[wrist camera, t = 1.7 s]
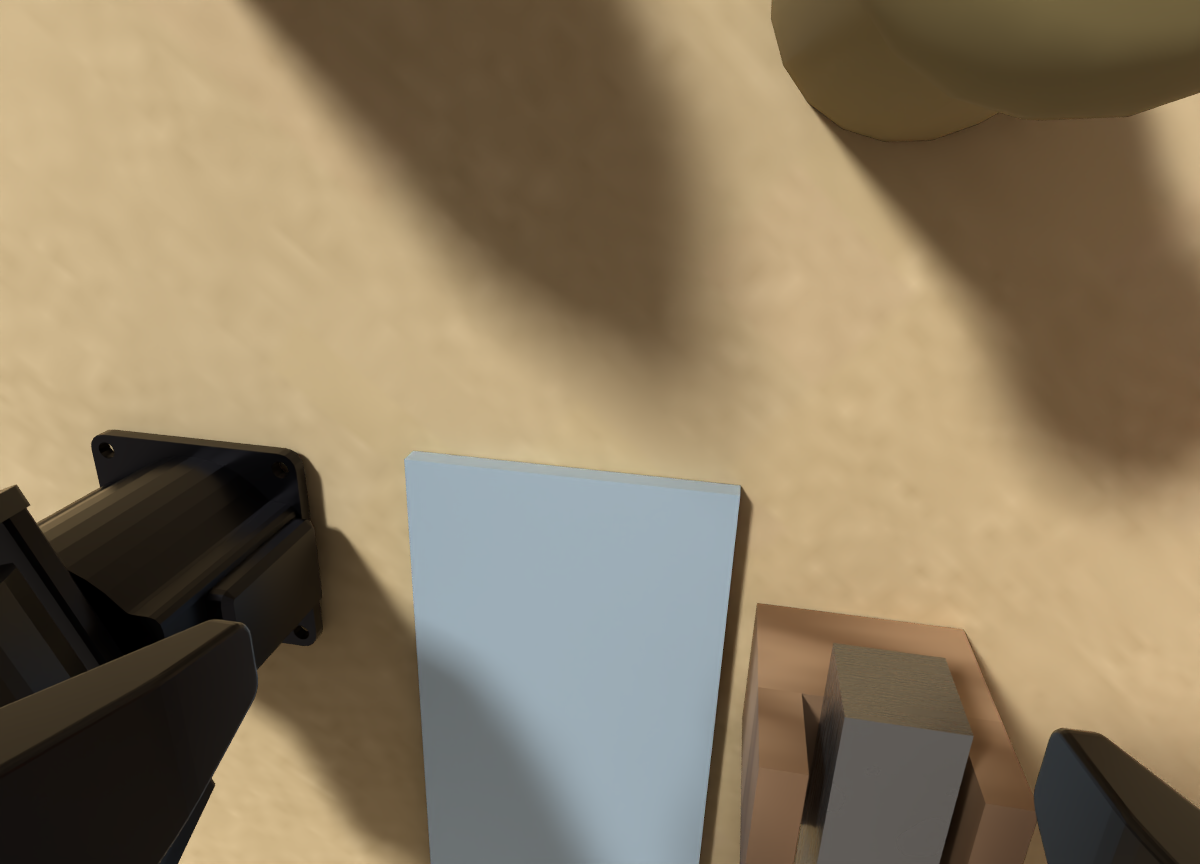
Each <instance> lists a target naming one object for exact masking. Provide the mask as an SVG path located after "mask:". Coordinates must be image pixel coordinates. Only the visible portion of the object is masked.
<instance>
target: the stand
mask: <svg viewBox="0 0 1200 864" xmlns="http://www.w3.org/2000/svg"><path fill="white" fill-rule="evenodd" d="M833 643H837V644H844V645H852V646H859V647H867V648H874V649H882V650H889V651H897V652H904V653H912V654H919V655H927V656H934V657H941V658H946V661H947V664H948V667H949V670H950V672H951V675H952V678H953V681H954V683H955V686H956V689H957V692H958V694H959V697H960V700H961V703H962V705H963V708H964V711H965V714H966V716H967V719H968V722H969V725H970V728H971V730H972V733H973V736H974V737H973V741H972V744H971V748H970V752H969V755H968V759H967V763H966V767H965V770H964V774H963V778H962V781H961V785H960V789H959V792H958V796H957V800H956V803H955V807H954V811H953V815H952V818H951V822H950V826H949V829H948V833H947V837H946V840H945V844H944V848H943V851H942V855H941V859H940V863H939V864H1023V863H1024V860H1025V856H1026V853H1027V850H1028V847H1029V844H1030V841H1031V838H1032V835H1033V832H1034V829H1035V826H1036V823H1037V818H1036V813H1035V807H1034V797H1033V794H1032V792H1031V790H1030V787H1029V785H1028V782H1027V780H1026V778H1025V775H1024V773H1023V770H1022V768H1021V766H1020V763H1019V761H1018V758H1017V756H1016V754H1015V751H1014V749H1013V747H1012V744H1011V742H1010V739H1009V737H1008V735H1007V732H1006V730H1005V727H1004V725H1003V723H1002V720H1001V718H1000V715H999V713H998V711H997V708H996V706H995V703H994V701H993V699H992V696H991V694H990V692H989V689H988V687H987V684H986V682H985V680H984V677H983V675H982V672H981V670H980V668H979V665H978V663H977V660H976V658H975V656H974V653H973V651H972V649H971V646H970V644H969V641H968V639H967V637H966V634H965V632H964V630H962V629H954V628H947V627H939V626H931V625H923V624H915V623H908V622H900V621H892V620H884V619H876V618H869V617H861V616H853V615H845V614H837V613H830V612H822V611H814V610H806V609H798V608H791V607H783V606H775V605H767V604H759V603H757V608H756V615H755V623H754V631H753V639H752V647H751V654H750V662H749V670H748V678H747V685H746V693H745V701H744V709H743V717H742V773H741V839H740V864H793V863H794V858H795V852H796V846H797V840H798V835H799V829H800V824H801V823H802V818H803V812H804V806H805V800H806V795H807V789H808V783H809V778H810V772H811V766H812V760H813V755H814V749H815V743H816V738H817V732H818V726H819V721H820V715H821V709H822V703H823V698H824V692H825V686H826V681H827V675H828V669H829V663H830V658H831V652H832V646H833Z"/></svg>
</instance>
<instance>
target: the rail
mask: <svg viewBox="0 0 1200 864" xmlns="http://www.w3.org/2000/svg"><path fill="white" fill-rule="evenodd" d="M973 737H974V736H973V733H972V730H971V728H970V725H969V722H968V719H967V716H966V714H965V711H964V708H963V705H962V703H961V700H960V697H959V694H958V692H957V689H956V686H955V683H954V681H953V678H952V675H951V672H950V670H949V667H948V664H947V661H946V658H941V657H934V656H927V655H919V654H912V653H904V652H897V651H889V650H882V649H874V648H867V647H859V646H852V645H844V644H837V643H833V646H832V652H831V658H830V663H829V669H828V675H827V681H826V686H825V692H824V698H823V703H822V709H821V715H820V721H819V726H818V732H817V738H816V743H815V749H814V755H813V760H812V766H811V772H810V778H809V783H808V789H807V795H806V800H805V806H804V812H803V818H802V823H801V829H800V835H799V840H798V846H797V852H796V858H795V863H794V864H939V863H940V859H941V855H942V851H943V848H944V844H945V840H946V837H947V833H948V829H949V826H950V822H951V818H952V815H953V811H954V807H955V803H956V800H957V796H958V792H959V789H960V785H961V781H962V778H963V774H964V770H965V767H966V763H967V759H968V755H969V752H970V748H971V744H972V741H973Z"/></svg>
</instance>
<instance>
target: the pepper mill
mask: <svg viewBox="0 0 1200 864" xmlns="http://www.w3.org/2000/svg"><path fill="white" fill-rule="evenodd" d="M771 20H772V24H773V28H774V32H775V36H776V39H777V43H778V47H779V51H780V55H781V58H782V62H783V65H784V67H785V69H786V70H787V72H788V73H789V75H790V76H791V78H792V79H793V81H794V82H795V84H796V85H797V87H798V88H799V90H800V91H801V93H802V94H803V96H804V97H805V99H806V100H807V102H808V103H809V104H810V105H812V106H813V107H814V108H816V109H817V110H818V111H820V112H821V113H822V114H824V115H825V116H826V117H828V118H829V119H830V120H832V121H833V122H834V123H836V124H837V125H838V126H840V127H841V128H842V129H845V130H848V131H851V132H854V133H858V134H861V135H864V136H868V137H871V138H874V139H878V140H881V141H884V142H895V141H924V140H934V139H937V138H939V137H942V136H945V135H948V134H951V133H954V132H957V131H959V130H962V129H965V128H968V127H971V126H974V125H977V124H979V123H981V122H983V121H985V120H986V119H988V118H990V117H992V116H994V115H996V114H997V113H999V112H1000V113H1003V114H1006V115H1010V116H1013V117H1016V118H1020V119H1027V120H1056V119H1082V118H1108V117H1129V116H1131V115H1134V114H1137V113H1140V112H1143V111H1146V110H1149V109H1152V108H1155V107H1158V106H1161V105H1164V104H1167V103H1170V102H1173V101H1176V100H1179V99H1182V98H1185V97H1188V96H1191V95H1194V94H1197V93H1200V0H772V7H771Z"/></svg>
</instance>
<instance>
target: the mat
mask: <svg viewBox="0 0 1200 864" xmlns="http://www.w3.org/2000/svg"><path fill="white" fill-rule="evenodd" d="M404 461H405V477H406V492H407V508H408V523H409V538H410V554H411V569H412V584H413V600H414V615H415V631H416V646H417V661H418V677H419V692H420V707H421V723H422V738H423V754H424V769H425V784H426V800H427V815H428V830H429V846H430V861H431V864H699V859H700V850H701V841H702V832H703V823H704V814H705V805H706V796H707V787H708V778H709V770H710V761H711V752H712V743H713V734H714V725H715V716H716V707H717V698H718V689H719V680H720V671H721V663H722V654H723V645H724V636H725V627H726V618H727V609H728V600H729V591H730V582H731V573H732V564H733V556H734V547H735V538H736V529H737V520H738V511H739V502H740V485H730V484H721V483H712V482H702V481H693V480H683V479H674V478H664V477H655V476H646V475H636V474H627V473H617V472H608V471H598V470H589V469H580V468H570V467H561V466H551V465H542V464H532V463H523V462H514V461H504V460H495V459H485V458H476V457H467V456H457V455H448V454H438V453H429V452H419V451H412V452H411V453H410V454H409V455H408V456H407V457H406V458H405V459H404Z"/></svg>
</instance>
